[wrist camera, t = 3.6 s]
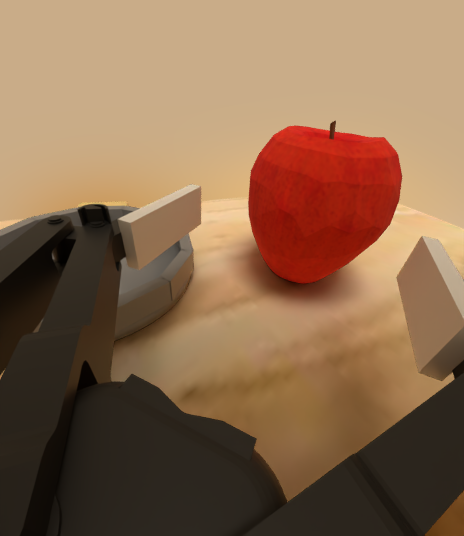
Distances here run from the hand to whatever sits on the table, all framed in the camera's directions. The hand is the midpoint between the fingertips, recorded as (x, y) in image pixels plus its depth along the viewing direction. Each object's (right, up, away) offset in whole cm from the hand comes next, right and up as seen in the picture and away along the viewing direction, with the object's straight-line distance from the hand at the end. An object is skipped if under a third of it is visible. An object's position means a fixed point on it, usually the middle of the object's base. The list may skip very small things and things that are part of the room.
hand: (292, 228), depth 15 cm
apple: (+3, -3, +10) cm, 11 cm away
